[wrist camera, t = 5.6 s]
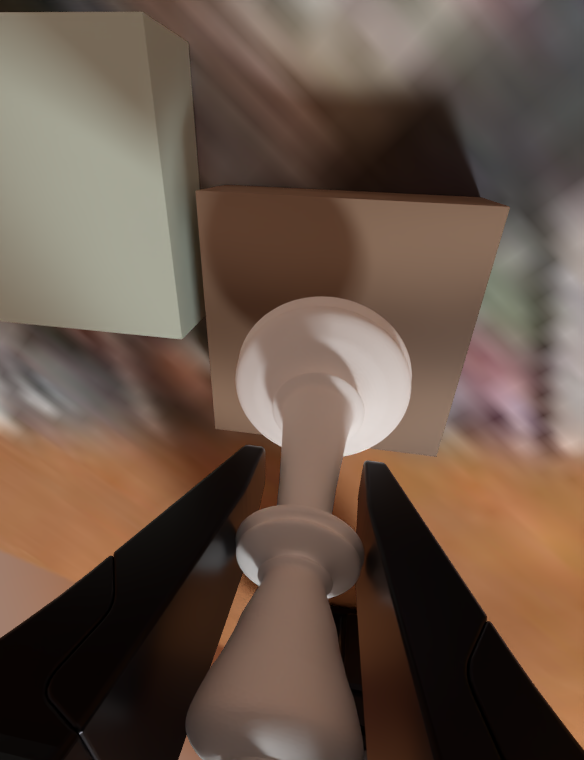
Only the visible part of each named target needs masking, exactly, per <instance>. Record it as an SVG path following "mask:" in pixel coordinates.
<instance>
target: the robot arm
mask: <svg viewBox="0 0 584 760" xmlns="http://www.w3.org/2000/svg"><path fill="white" fill-rule="evenodd" d="M264 484H265V449H264V448H263V447H261V446H253V445H245V446H244V447H242V448H241V449H240V450H239V451H237V452H236V453H235V454H234V455H232V456H231V457H230V458H229V459H228V460H226V461H225V462H224V463H223V464H221V465H220V466H219V467H218V468H217V469H215V470H214V471H213V472H212V473H210V474H209V475H208V476H207V477H206V478H204V479H203V480H202V481H201V482H199V483H198V484H197V485H196V486H195V487H193V488H192V489H191V490H190V491H188V492H187V493H186V494H185V495H184V496H182V497H181V498H180V499H179V500H178V501H176V502H175V503H174V504H173V505H171V506H170V507H169V508H168V509H167V510H165V511H164V512H163V513H162V514H160V515H159V516H158V517H157V518H156V519H154V520H153V521H152V522H151V523H149V524H148V525H147V526H146V527H145V528H143V529H142V530H141V531H140V532H138V533H137V534H136V535H135V536H134V537H132V538H131V539H130V540H129V541H127V542H126V543H125V544H124V545H123V546H121V547H120V548H119V549H118V550H116V551H115V552H114V557H113V556H109V557H108V558H106V559H105V560H104V561H103V562H102V563H100V564H99V565H98V566H97V567H95V568H94V569H93V570H92V571H91V572H89V573H88V574H87V575H85V576H84V577H83V578H82V579H80V580H79V581H78V582H76V583H75V584H74V585H73V586H71V587H70V588H69V589H68V590H66V591H65V592H64V593H62V594H61V595H60V596H59V597H57V598H56V599H54V600H53V601H52V602H50V603H49V604H47V605H46V606H45V607H43V608H42V609H41V610H39V611H38V612H37V613H35V614H34V615H32V616H31V617H30V618H28V619H27V620H25V621H24V622H23V623H21V624H20V625H18V626H17V627H15V628H14V629H13V630H11V631H10V632H8V633H7V634H5V635H4V636H3V637H1V638H0V760H178V759H179V756H180V753H181V750H182V747H183V744H184V741H185V738H186V735H187V733H186V727H185V722H186V716H187V712H188V709H189V707H190V704H191V702H192V700H193V698H194V696H195V694H196V692H197V690H198V688H199V687H200V685H201V683H202V681H203V680H204V678H205V676H206V674H207V672H208V671H209V669H210V666H211V663H212V660H213V657H214V655H215V652H216V649H217V646H218V643H219V640H220V637H221V634H222V631H223V629H224V626H225V623H226V620H227V617H228V614H229V611H230V608H231V605H232V603H233V600H234V597H235V594H236V591H237V588H238V585H239V582H240V579H241V577H242V574H243V571H242V570H241V568H240V566H239V564H238V562H237V559H236V542H235V538H236V533H237V530H238V528H239V526H240V525H241V523H242V522H243V521H244V520H245V519H246V518H247V517H248V516H250V515H251V514H253V513H254V512H256V511H258V510H259V507H260V503H261V498H262V494H263V489H264ZM356 533H357V535H358V536H359V538H360V540H361V541H362V544H363V547H364V551H365V559H364V563H363V566H362V568H361V573H360V576H359V578H358V580H357V582H356V583H355V588H356V602H357V610H352V609H346V608H341V607H335V606H330V608H331V612H332V615H333V619H334V622H335V625H336V629H337V634H338V642H339V648H340V653H341V657H342V661H343V665H344V669H345V673H346V677H347V680H348V683H349V686H350V689H351V692H352V694H353V697H354V701H355V705H356V710H357V714H358V718H359V722H360V727H361V732H362V738H363V745H364V757H363V760H584V750H583V748H582V747H581V746H580V745H579V743H578V742H577V741H576V740H575V738H574V737H573V736H572V734H571V733H570V732H569V730H568V729H567V728H566V726H565V725H564V724H563V723H562V721H561V720H560V719H559V717H558V716H557V715H556V713H555V712H554V711H553V709H552V708H551V707H550V705H549V704H548V703H547V701H546V700H545V699H544V697H543V696H542V695H541V693H540V692H539V691H538V689H537V688H536V687H535V685H534V684H533V683H532V681H531V680H530V678H529V677H528V675H527V674H526V673H525V671H524V670H523V668H522V667H521V665H520V664H519V663H518V661H517V660H516V658H515V657H514V655H513V654H512V652H511V651H510V650H509V648H508V647H507V645H506V644H505V642H504V641H503V639H502V638H501V636H500V635H499V633H498V632H497V630H496V629H495V627H494V626H493V624H492V623H491V622H490V621H487V616H486V614H485V613H484V611H483V609H482V608H481V606H480V605H479V603H478V602H477V600H476V599H475V597H474V596H473V594H472V593H471V591H470V590H469V588H468V587H467V585H466V584H465V582H464V581H463V579H462V578H461V576H460V575H459V573H458V572H457V570H456V569H455V567H454V566H453V564H452V563H451V561H450V560H449V558H448V557H447V555H446V554H445V552H444V551H443V549H442V548H441V546H440V545H439V543H438V542H437V540H436V539H435V537H434V536H433V534H432V533H431V531H430V530H429V528H428V527H427V525H426V524H425V522H424V521H423V519H422V518H421V516H420V515H419V513H418V512H417V510H416V509H415V507H414V506H413V504H412V503H411V501H410V500H409V498H408V497H407V495H406V494H405V492H404V491H403V489H402V488H401V486H400V485H399V483H398V482H397V480H396V479H395V477H394V476H393V474H392V473H391V471H390V470H389V468H388V467H387V466H386V464H384V463H382V462H375V461H365V462H364V465H363V470H362V475H361V481H360V487H359V494H358V509H357V529H356ZM486 621H487V622H486Z"/></svg>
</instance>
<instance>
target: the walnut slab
mask: <svg viewBox="0 0 584 760" xmlns="http://www.w3.org/2000/svg"><path fill="white" fill-rule="evenodd" d="M195 192H196V204H197V216H198V228H199V240H200V252H201V264H202V276H203V288H204V300H205V311H206V323H207V335H208V347H209V359H210V371H211V383H212V395H213V407H214V419H215V429H221V430H228V431H236V432H244V433H252V434H260V435H263V434H261V433H260V432H259V431H258V430H257V429H256V428H255V427H254V425H253V424H252V423H251V422H250V420H249V419H248V418H247V416H246V414H245V413H244V411H243V409H242V407H241V404H240V402H239V399H238V395H237V390H236V380H235V377H236V367H237V363H238V359H239V354H240V350H241V347H242V345H243V342H244V340H245V338H246V336H247V335H248V333H249V332H250V330H251V329H252V328H253V326H254V325H255V324H256V323H257V322H258V321H259V320H260V319H261V318H262V317H263V316H265V315H266V314H267V313H269V312H270V311H272V310H273V309H275V308H277V307H279V306H281V305H283V304H285V303H288V302H291V301H294V300H297V299H302V298H307V297H320V296H324V297H336V298H342V299H346V300H350V301H353V302H356V303H358V304H361V305H363V306H365V307H367V308H369V309H371V310H373V311H374V312H376V313H377V314H379V315H380V316H381V317H383V318H384V319H385V320H386V321H387V322H388V323H389V324H390V325H391V326H392V327H393V328H394V329H395V330H396V332H397V333H398V334H399V336H400V337H401V339H402V340H403V342H404V344H405V346H406V349H407V351H408V354H409V358H410V362H411V369H412V381H411V395H410V400H409V404H408V407H407V410H406V412H405V414H404V416H403V418H402V420H401V421H400V423H399V424H398V425H397V427H396V428H395V429H394V430H393V431H392V432H391V433H390V434H389V435H388V436H387V437H386V438H385V439H383V440H382V441H381V442H379V443H378V444H376V445H374V446H373V447H371V449H379V450H387V451H395V452H403V453H411V454H419V455H426V456H434V457H436V456H437V453H438V449H439V446H440V442H441V439H442V436H443V432H444V429H445V426H446V422H447V419H448V415H449V412H450V409H451V405H452V402H453V398H454V395H455V392H456V388H457V385H458V382H459V378H460V375H461V371H462V368H463V365H464V361H465V358H466V354H467V351H468V348H469V344H470V341H471V337H472V334H473V331H474V327H475V324H476V321H477V317H478V314H479V310H480V307H481V304H482V300H483V297H484V293H485V290H486V287H487V283H488V280H489V277H490V273H491V270H492V266H493V263H494V260H495V256H496V253H497V249H498V246H499V243H500V239H501V236H502V232H503V229H504V226H505V222H506V219H507V216H508V212H509V209H510V207H509V206H506V205H503V204H500V203H497V202H493V201H490V200H487V199H484V198H481V197H464V196H444V195H424V194H404V193H384V192H364V191H344V190H324V189H304V188H283V187H263V186H243V185H221V186H216V187H211V188H206V189H201V190H196V191H195Z"/></svg>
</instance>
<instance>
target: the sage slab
mask: <svg viewBox="0 0 584 760" xmlns="http://www.w3.org/2000/svg"><path fill="white" fill-rule="evenodd" d="M196 190H200V185H199V172H198V159H197V146H196V134H195V121H194V108H193V95H192V83H191V70H190V57H189V44H188V42H187V41H185V40H184V39H182V38H181V37H179V36H178V35H176V34H175V33H174V32H172V31H171V30H169V29H168V28H166V27H165V26H163V25H162V24H160V23H159V22H157V21H156V20H154V19H153V18H151V17H150V16H148V15H147V14H145V13H144V12H0V321H2V322H12V323H22V324H32V325H42V326H52V327H62V328H72V329H83V330H93V331H103V332H113V333H123V334H133V335H143V336H153V337H163V338H173V339H183V338H184V337H185V336H186V335H187V334H188V333H189V332H190V331H191V330H192V329H193V328H194V327H195V326H196V325H197V324H198V323H199V322H200V321H201V320H202V319H203V318H204V317H205V316H206V311H205V300H204V288H203V276H202V264H201V252H200V240H199V228H198V216H197V204H196V192H195V191H196Z"/></svg>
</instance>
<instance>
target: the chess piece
mask: <svg viewBox="0 0 584 760" xmlns="http://www.w3.org/2000/svg"><path fill="white" fill-rule="evenodd" d="M235 380H236V390H237V395H238V399H239V402H240V404H241V407H242V409H243V411H244V413H245V414H246V416H247V418H248V419H249V420H250V422H251V423H252V424H253V425H254V427H255V428H256V429H257V430H258V431H259V432H260V433H261V434H263V435H264V436H265V437H266V438H268V439H269V440H270V441H272V442H273V443H275V444H277V445H279V446H281V447H282V449H281V465H280V481H279V490H278V500H277V506H271V507H267V508H264V509H261V510H258V511H256V512H254V513H253V514H251V515H250V516H248V517H247V518H246V519H245V520H244V521H243V522H242V523H241V525H240V526H239V528H238V530H237V533H236V538H235V542H236V559H237V562H238V564H239V566H240V568H241V570H242V571H243V573H244V574H245V575H246V576H247V577H248V578H249V579H250V580H251V581H253V582H254V583H255V584H257V585H258V586H259V587H258V588H257V590H256V592H255V593H254V595H253V596H252V598H251V599H250V601H249V603H248V604H247V606H246V607H245V609H244V611H243V612H242V614H241V616H240V618H239V621H238V623H237V625H236V627H235V629H234V631H233V633H232V635H231V637H230V638H229V640H228V642H227V643H226V645H225V647H224V649H223V650H222V652H221V654H220V655H219V657H218V658H217V660H216V661H215V662H214V663H213V665H212V666H211V668H210V669H209V671H208V672H207V674H206V676H205V678H204V680H203V681H202V683H201V685H200V687H199V688H198V690H197V692H196V694H195V696H194V698H193V700H192V702H191V704H190V707H189V709H188V712H187V716H186V722H185V727H186V733H187V737H188V739H189V742H190V744H191V745H192V747H193V749H194V750H195V752H196V753H197V754H198V756H199V757H200V758H201V759H202V760H363V757H364V745H363V738H362V732H361V727H360V722H359V718H358V714H357V710H356V705H355V701H354V697H353V694H352V692H351V689H350V686H349V683H348V680H347V677H346V673H345V669H344V665H343V661H342V657H341V653H340V648H339V642H338V634H337V629H336V625H335V622H334V619H333V615H332V612H331V608H330V605H329V602H328V598H332V597H335V596H338V595H340V594H342V593H344V592H346V591H347V590H349V589H350V588H351V587H352V586H353V585H354V584H355V583H356V582H357V580H358V578H359V576H360V573H361V568H362V566H363V563H364V559H365V551H364V547H363V544H362V541H361V540H360V538H359V536H358V535H357V533H356V532H355V531H354V530H353V529H352V528H351V527H350V526H349V525H348V524H347V523H345V522H344V521H343V520H341V519H339V518H338V517H336V516H334V515H332V511H333V505H334V498H335V492H336V487H337V482H338V477H339V472H340V468H341V463H342V459H343V456H348V455H352V454H356V453H359V452H362V451H364V450H366V449H369V448H371V447H373V446H374V445H376V444H378V443H379V442H381V441H382V440H383V439H385V438H386V437H387V436H388V435H389V434H390V433H391V432H392V431H393V430H394V429H395V428H396V427H397V425H398V424H399V423H400V421H401V420H402V418H403V416H404V414H405V412H406V410H407V407H408V404H409V400H410V395H411V381H412V369H411V362H410V358H409V354H408V351H407V349H406V346H405V344H404V342H403V340H402V339H401V337H400V336H399V334H398V333H397V332H396V330H395V329H394V328H393V327H392V326H391V325H390V324H389V323H388V322H387V321H386V320H385V319H384V318H383V317H381V316H380V315H379V314H377V313H376V312H374V311H373V310H371V309H369V308H367V307H365V306H363V305H361V304H358V303H356V302H353V301H350V300H346V299H342V298H336V297H324V296H320V297H307V298H302V299H297V300H294V301H291V302H288V303H285V304H283V305H281V306H279V307H277V308H275V309H273V310H272V311H270V312H269V313H267V314H266V315H265V316H263V317H262V318H261V319H260V320H259V321H258V322H257V323H256V324H255V325H254V326H253V328H252V329H251V330H250V332H249V333H248V335H247V336H246V338H245V340H244V342H243V345H242V347H241V350H240V354H239V359H238V363H237V367H236V377H235Z"/></svg>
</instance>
